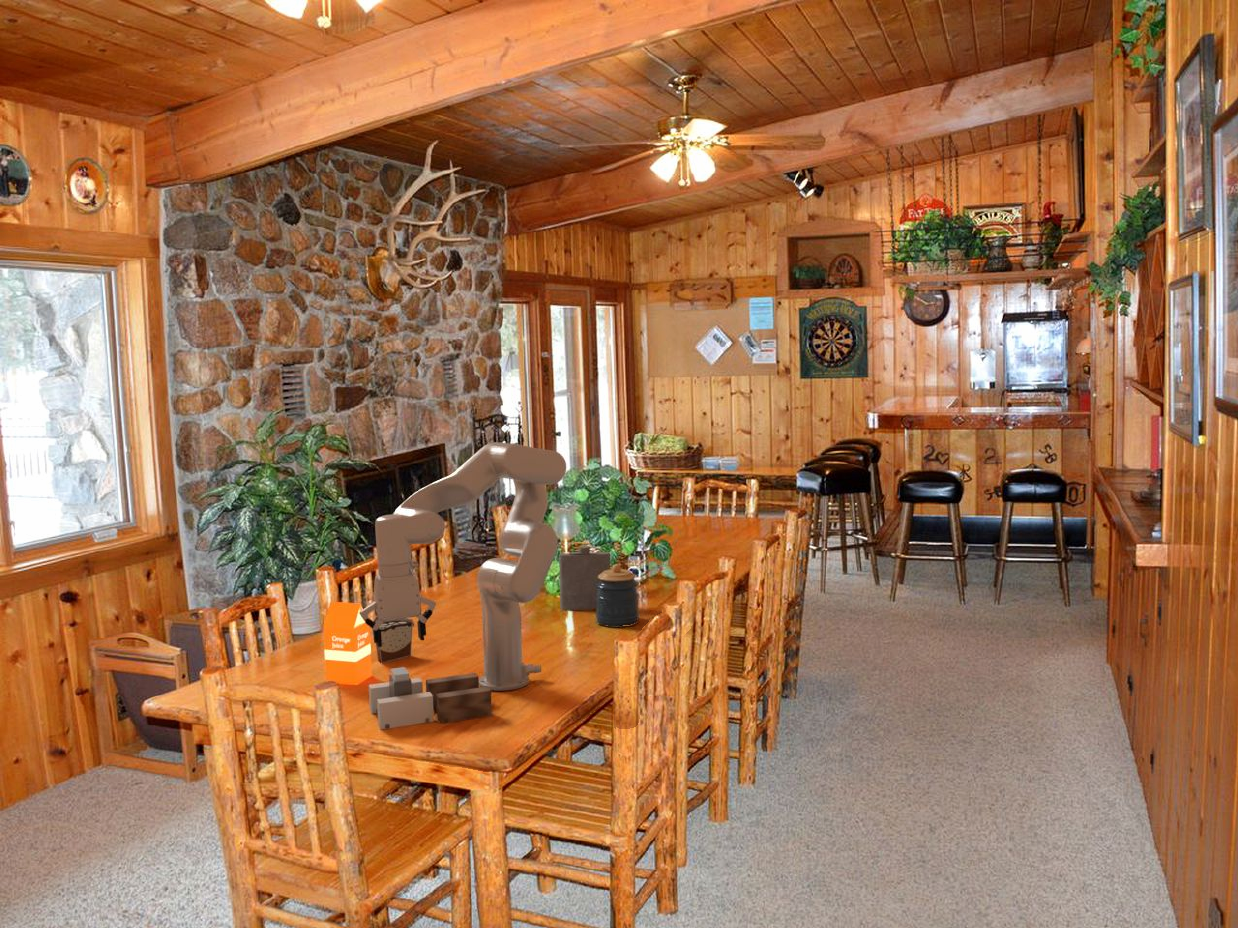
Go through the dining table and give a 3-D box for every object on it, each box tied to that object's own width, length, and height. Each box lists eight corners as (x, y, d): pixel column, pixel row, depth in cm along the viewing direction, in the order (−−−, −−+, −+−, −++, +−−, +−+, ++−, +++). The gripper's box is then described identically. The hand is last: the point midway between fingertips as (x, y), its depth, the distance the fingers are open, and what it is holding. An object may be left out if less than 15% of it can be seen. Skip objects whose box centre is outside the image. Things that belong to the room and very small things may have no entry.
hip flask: (610, 605, 348) (609, 543, 346) (611, 609, 344) (610, 546, 342) (560, 607, 347) (558, 545, 344) (560, 611, 343) (559, 548, 340)
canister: (631, 629, 321) (630, 570, 319) (589, 626, 325) (588, 567, 323) (644, 618, 333) (643, 561, 331) (604, 615, 337) (603, 558, 335)
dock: (420, 702, 262) (419, 677, 261) (433, 721, 249) (432, 695, 248) (369, 709, 257) (368, 684, 257) (380, 729, 245) (379, 703, 244)
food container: (403, 650, 304) (401, 614, 303) (415, 654, 300) (414, 618, 299) (364, 660, 296) (362, 624, 294) (376, 664, 291) (374, 628, 290)
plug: (407, 710, 257) (405, 666, 255) (413, 718, 251) (411, 673, 250) (390, 712, 255) (388, 668, 254) (395, 721, 250) (393, 675, 248)
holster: (475, 696, 265) (475, 672, 264) (491, 715, 252) (490, 690, 251) (426, 704, 260) (425, 679, 260) (440, 723, 248) (439, 697, 247)
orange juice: (341, 672, 285) (338, 597, 282) (372, 675, 283) (368, 599, 280) (325, 682, 278) (321, 605, 275) (356, 685, 275) (352, 607, 273)
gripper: (429, 561, 256) (434, 632, 258) (354, 570, 249) (359, 643, 252) (436, 568, 249) (441, 640, 251) (359, 578, 242) (365, 652, 245)
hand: (400, 642), depth 252 cm, fingers open, 9 cm apart
